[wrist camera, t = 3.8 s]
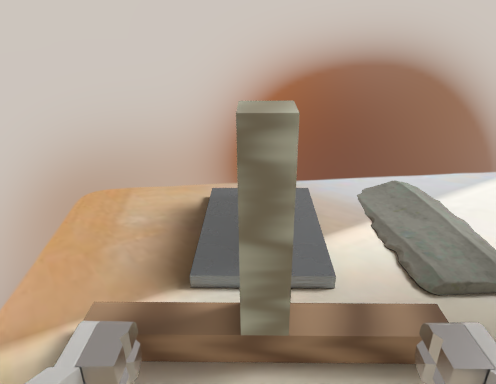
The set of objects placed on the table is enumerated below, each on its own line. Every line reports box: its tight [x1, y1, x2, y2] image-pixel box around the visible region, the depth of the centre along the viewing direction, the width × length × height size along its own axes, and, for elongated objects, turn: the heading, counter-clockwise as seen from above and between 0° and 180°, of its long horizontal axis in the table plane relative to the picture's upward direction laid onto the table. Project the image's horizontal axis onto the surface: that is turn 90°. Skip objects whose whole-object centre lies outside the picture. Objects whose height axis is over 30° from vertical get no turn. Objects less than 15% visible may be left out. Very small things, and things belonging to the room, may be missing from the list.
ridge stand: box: [190, 188, 336, 288], centre depth 38 cm, size 12×18×8 cm, turn 179°
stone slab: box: [357, 181, 496, 295], centre depth 41 cm, size 22×3×10 cm
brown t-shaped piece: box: [83, 101, 449, 364], centre depth 23 cm, size 24×3×16 cm, turn 89°
